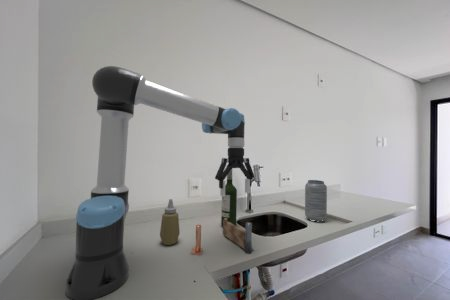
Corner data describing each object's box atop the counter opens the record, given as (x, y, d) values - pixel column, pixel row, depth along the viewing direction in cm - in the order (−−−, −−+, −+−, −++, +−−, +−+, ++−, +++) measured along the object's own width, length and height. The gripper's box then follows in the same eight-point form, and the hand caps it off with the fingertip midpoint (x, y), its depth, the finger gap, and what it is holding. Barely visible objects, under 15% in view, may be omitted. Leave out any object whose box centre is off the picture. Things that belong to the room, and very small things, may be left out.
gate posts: (251, 246, 80) (252, 219, 80) (254, 254, 73) (255, 225, 73) (193, 245, 79) (193, 218, 79) (190, 254, 72) (191, 224, 72)
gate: (247, 247, 77) (247, 228, 77) (244, 248, 76) (244, 229, 76) (225, 233, 90) (226, 217, 90) (222, 234, 89) (223, 218, 89)
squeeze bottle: (173, 236, 87) (174, 196, 88) (183, 242, 82) (184, 199, 82) (156, 242, 82) (157, 199, 82) (165, 249, 76) (166, 202, 76)
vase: (330, 221, 113) (330, 181, 114) (319, 224, 107) (319, 182, 107) (311, 215, 123) (312, 179, 123) (300, 218, 116) (301, 180, 117)
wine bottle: (218, 226, 101) (219, 168, 102) (228, 222, 107) (229, 168, 108) (229, 230, 96) (230, 169, 97) (239, 226, 102) (240, 169, 103)
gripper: (251, 148, 98) (251, 190, 98) (207, 146, 85) (207, 195, 85) (262, 148, 92) (261, 193, 92) (216, 146, 79) (215, 199, 78)
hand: (235, 194), depth 88 cm, fingers open, 13 cm apart
